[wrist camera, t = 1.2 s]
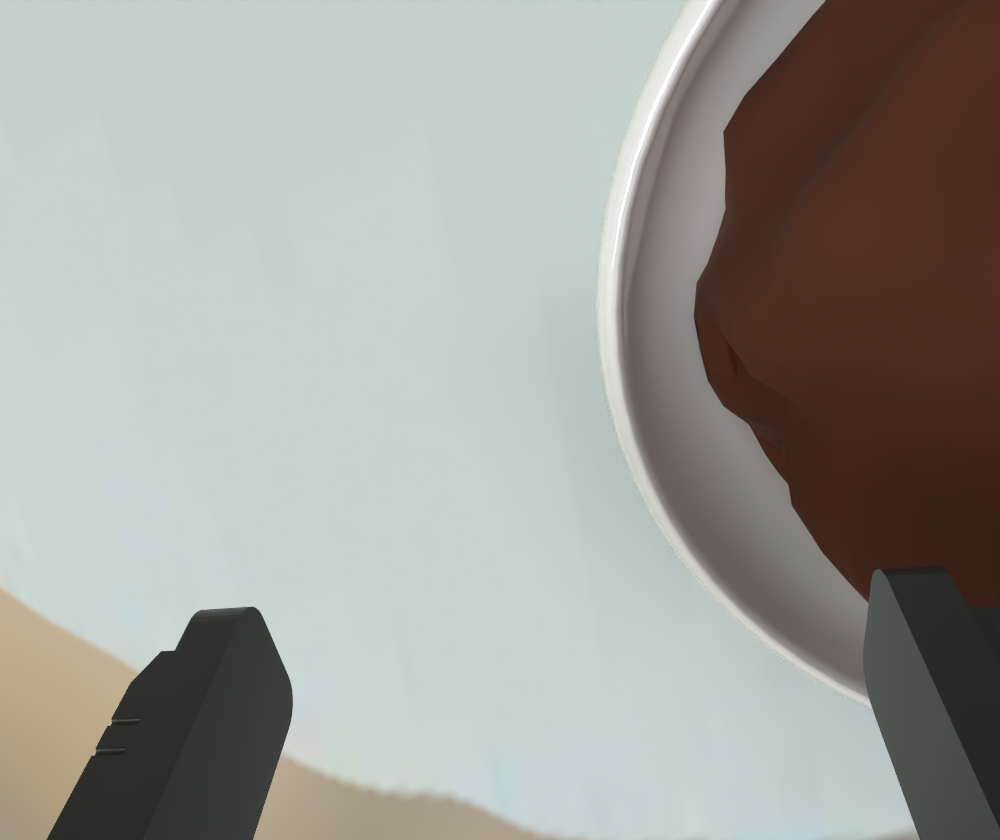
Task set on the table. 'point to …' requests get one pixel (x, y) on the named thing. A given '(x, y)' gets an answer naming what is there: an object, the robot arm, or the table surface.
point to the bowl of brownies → (812, 308)
